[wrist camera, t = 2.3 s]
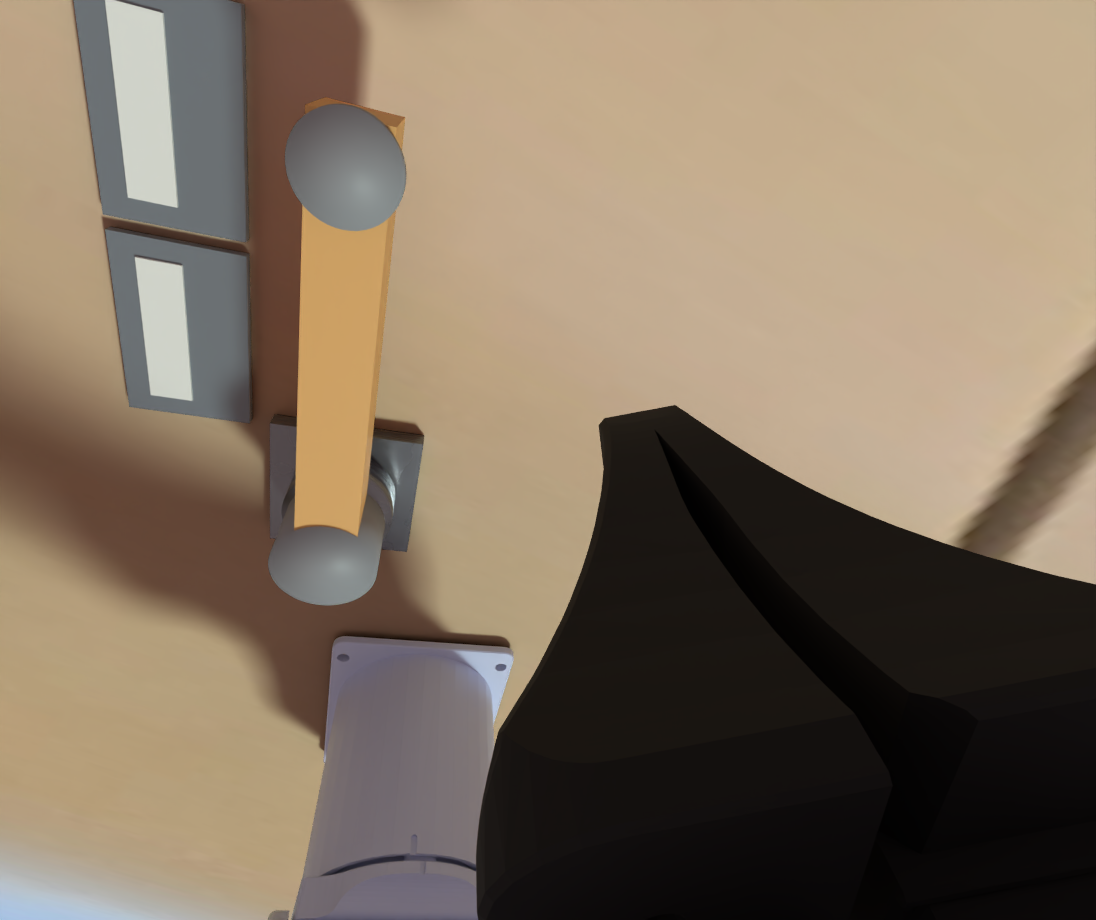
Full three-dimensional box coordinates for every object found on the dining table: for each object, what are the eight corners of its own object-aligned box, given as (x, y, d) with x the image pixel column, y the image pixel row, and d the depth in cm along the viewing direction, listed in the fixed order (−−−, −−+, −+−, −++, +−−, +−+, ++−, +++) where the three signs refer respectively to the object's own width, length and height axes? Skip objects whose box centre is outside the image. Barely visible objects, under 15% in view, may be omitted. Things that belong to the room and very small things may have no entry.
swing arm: (380, 560, 22) (371, 613, 20) (285, 551, 21) (266, 606, 19) (436, 115, 15) (431, 126, 13) (293, 78, 14) (263, 84, 12)
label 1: (249, 239, 18) (244, 243, 17) (108, 212, 17) (101, 214, 17) (244, 4, 15) (239, 3, 14) (74, -43, 14) (65, -45, 14)
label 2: (252, 418, 21) (249, 424, 21) (133, 402, 20) (128, 408, 20) (249, 253, 18) (245, 257, 18) (110, 226, 17) (103, 230, 17)
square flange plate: (408, 541, 25) (403, 577, 23) (274, 527, 23) (259, 564, 22) (424, 435, 22) (420, 467, 20) (274, 414, 21) (258, 446, 19)
